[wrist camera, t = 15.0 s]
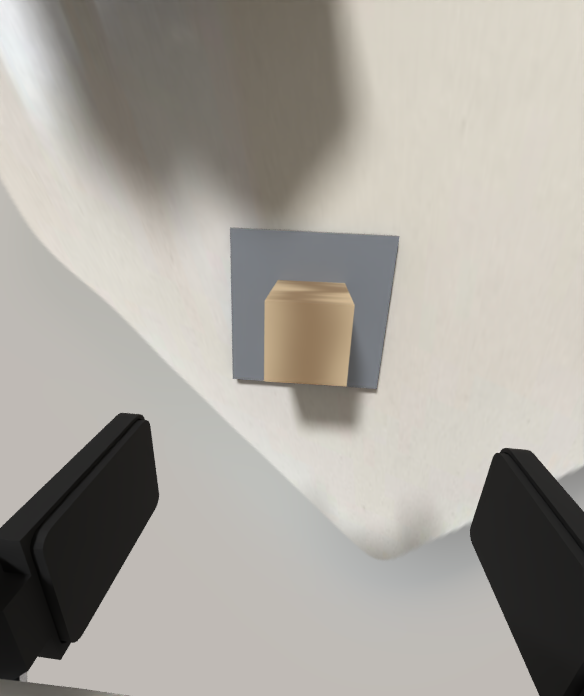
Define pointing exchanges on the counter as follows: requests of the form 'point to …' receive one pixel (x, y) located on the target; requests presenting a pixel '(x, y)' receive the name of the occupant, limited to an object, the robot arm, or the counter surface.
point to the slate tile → (315, 266)
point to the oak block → (308, 333)
